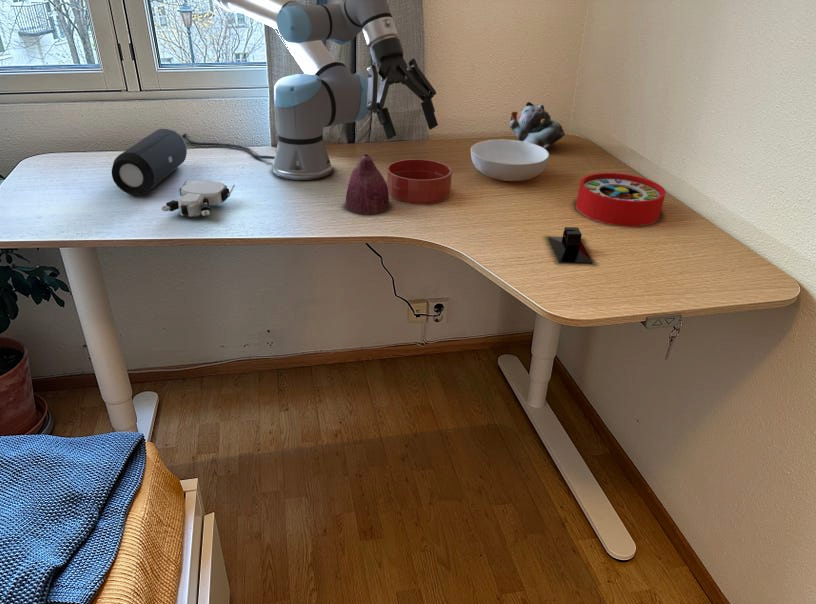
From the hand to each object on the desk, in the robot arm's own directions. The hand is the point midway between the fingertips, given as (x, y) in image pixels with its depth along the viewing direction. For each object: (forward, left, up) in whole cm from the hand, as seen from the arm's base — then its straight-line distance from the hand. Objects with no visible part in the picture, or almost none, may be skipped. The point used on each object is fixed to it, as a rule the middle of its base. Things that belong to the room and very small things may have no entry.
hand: (413, 132), depth 158 cm
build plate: (+47, +1, -15) cm, 49 cm away
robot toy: (-22, -47, -15) cm, 54 cm away
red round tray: (+2, 0, -14) cm, 15 cm away
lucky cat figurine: (-4, +56, -15) cm, 58 cm away
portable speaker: (-46, -46, -15) cm, 66 cm away
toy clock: (+41, +30, -15) cm, 53 cm away
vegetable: (+1, -16, -15) cm, 21 cm away
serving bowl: (+8, +28, -15) cm, 33 cm away
